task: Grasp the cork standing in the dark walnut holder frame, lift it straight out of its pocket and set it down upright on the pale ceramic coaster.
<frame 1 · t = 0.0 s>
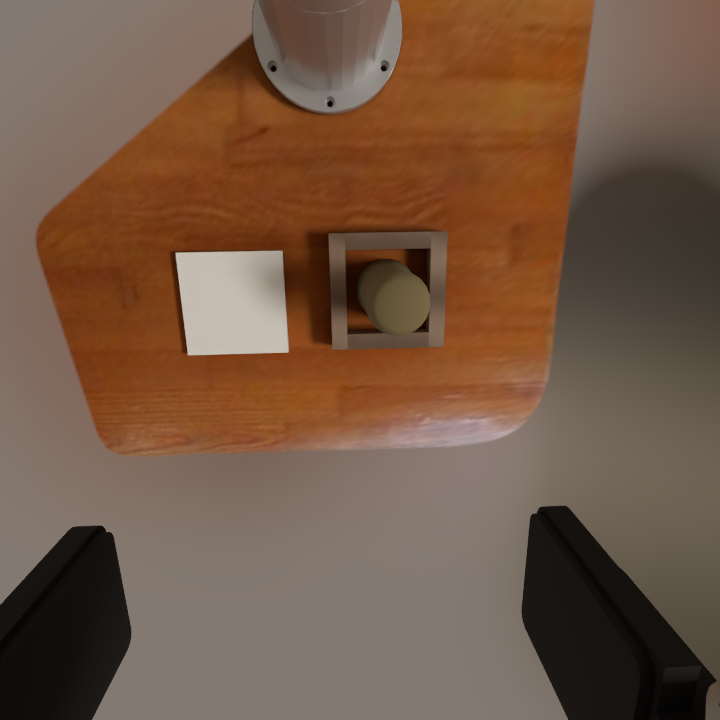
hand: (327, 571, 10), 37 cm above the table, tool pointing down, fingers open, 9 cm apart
holder: (386, 289, 45), on the table
cork: (386, 289, 45), resting in holder
coaster: (235, 303, 45), on the table
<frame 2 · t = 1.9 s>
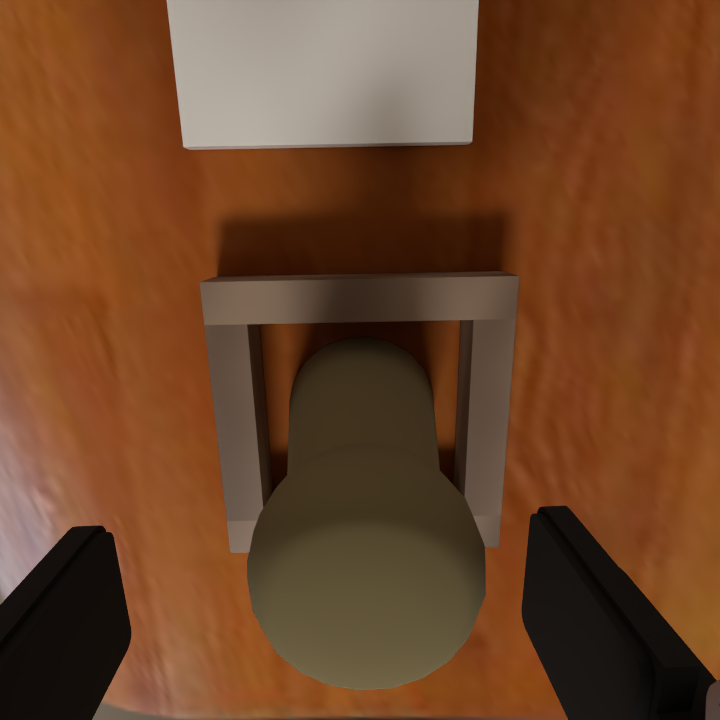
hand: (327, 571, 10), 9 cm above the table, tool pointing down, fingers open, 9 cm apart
holder: (361, 406, 19), on the table
cork: (361, 404, 19), resting in holder
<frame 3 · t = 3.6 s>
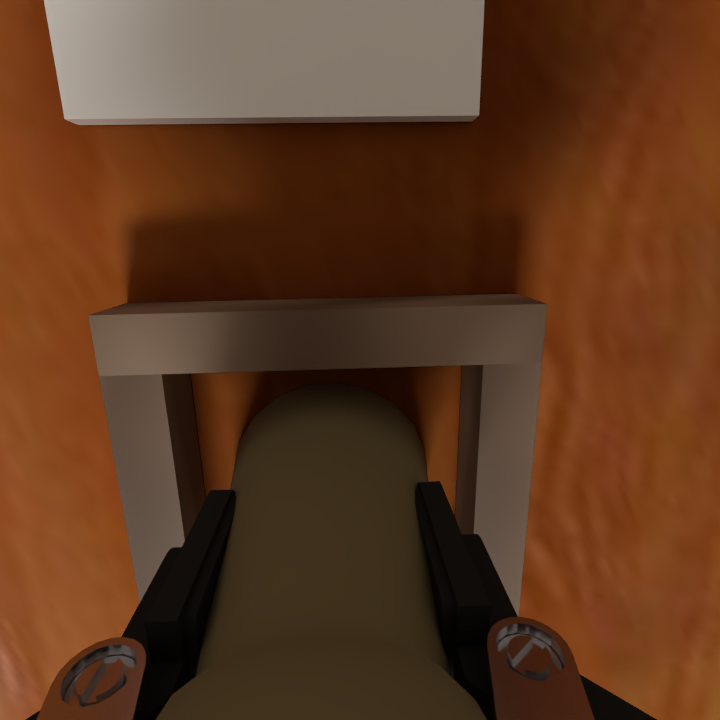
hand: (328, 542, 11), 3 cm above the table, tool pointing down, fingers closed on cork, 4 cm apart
holder: (331, 472, 14), on the table
cork: (331, 470, 15), resting in holder, touching gripper
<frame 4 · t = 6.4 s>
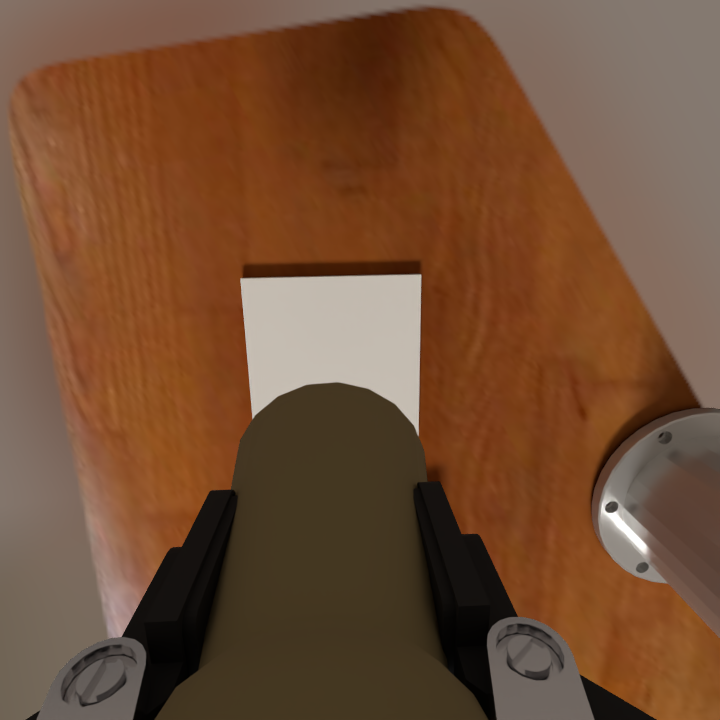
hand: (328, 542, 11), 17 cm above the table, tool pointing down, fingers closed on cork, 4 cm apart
cork: (331, 469, 15), point 13 cm above the table, touching gripper
coaster: (334, 360, 27), on the table
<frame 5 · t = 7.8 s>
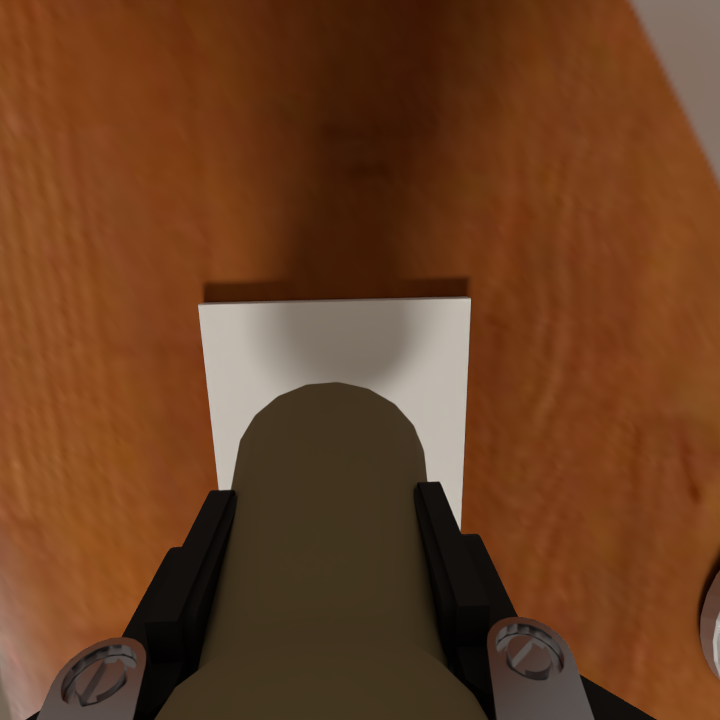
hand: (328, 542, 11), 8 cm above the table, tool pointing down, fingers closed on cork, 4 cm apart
cork: (331, 469, 15), point 4 cm above the table, touching gripper
coaster: (339, 421, 19), on the table
when the fingers open (5 cm above the table, at t = 9.1 s): cork drops 1 cm, resting on coaster.
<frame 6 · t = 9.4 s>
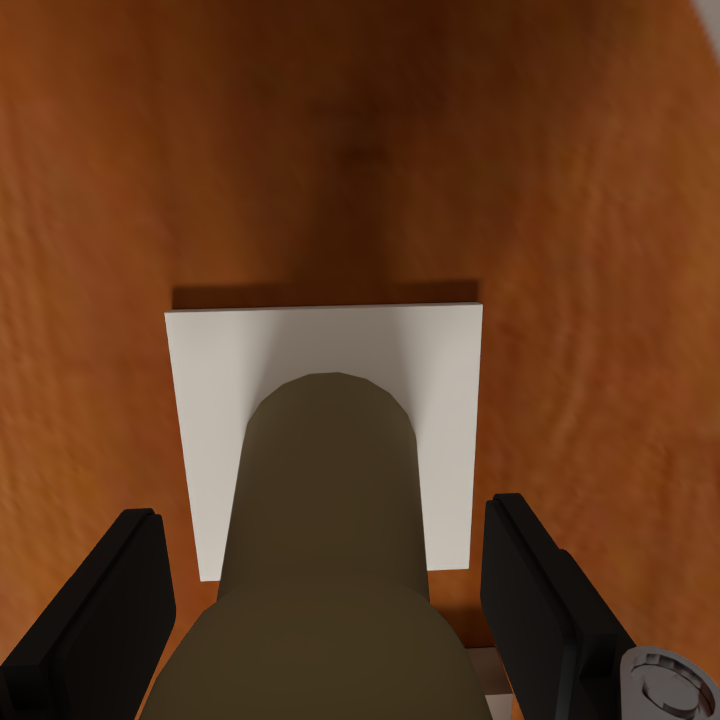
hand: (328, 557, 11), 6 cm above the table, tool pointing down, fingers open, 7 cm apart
cork: (330, 452, 16), resting on coaster
coaster: (331, 445, 16), on the table
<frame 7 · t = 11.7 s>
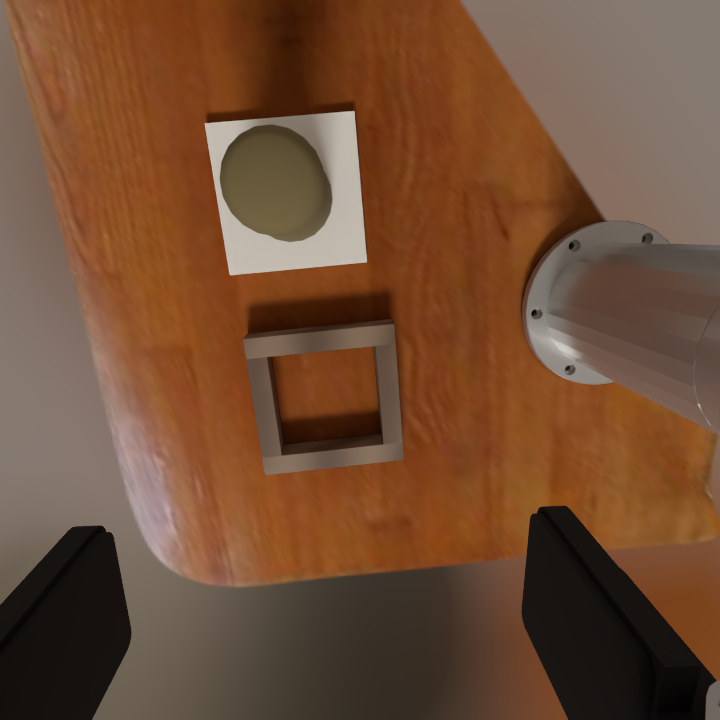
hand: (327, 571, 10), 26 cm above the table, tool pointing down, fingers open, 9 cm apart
holder: (327, 393, 36), on the table
cork: (289, 197, 32), resting on coaster
coaster: (290, 196, 32), on the table
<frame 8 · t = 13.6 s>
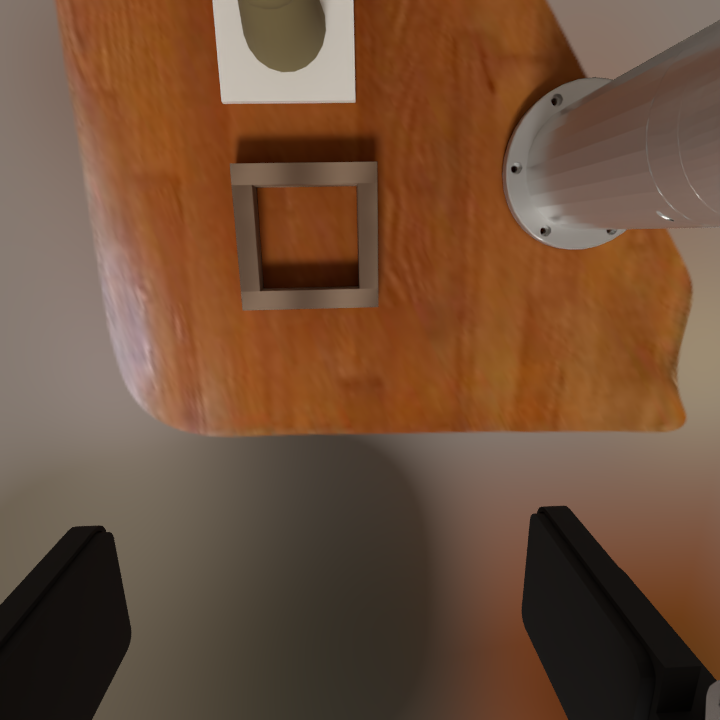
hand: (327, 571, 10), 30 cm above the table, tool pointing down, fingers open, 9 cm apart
holder: (309, 238, 37), on the table
cork: (284, 26, 33), resting on coaster
coaster: (285, 27, 33), on the table
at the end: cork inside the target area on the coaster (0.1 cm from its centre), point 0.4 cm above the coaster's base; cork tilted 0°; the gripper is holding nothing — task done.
